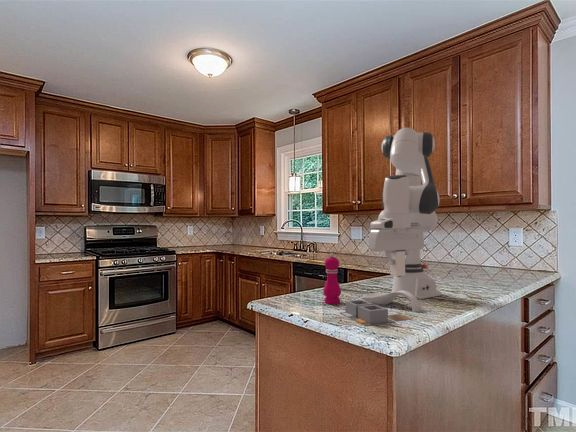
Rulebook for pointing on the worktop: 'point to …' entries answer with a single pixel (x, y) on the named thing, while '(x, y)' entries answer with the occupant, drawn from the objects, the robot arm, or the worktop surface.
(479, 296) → the worktop surface
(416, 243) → the robot arm
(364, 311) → the port box
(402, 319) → the deck
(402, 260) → the plug
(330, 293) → the pepper mill
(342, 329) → the worktop surface
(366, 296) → the grey curved arch
